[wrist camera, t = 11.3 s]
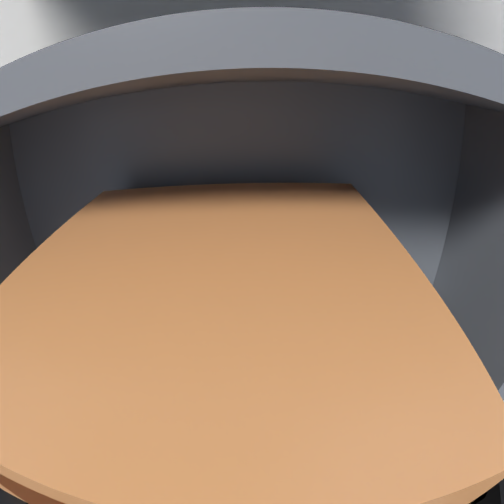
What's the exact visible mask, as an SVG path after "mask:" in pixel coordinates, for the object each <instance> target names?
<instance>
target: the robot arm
mask: <svg viewBox="0 0 504 504" xmlns="http://www.w3.org/2000/svg"><path fill="white" fill-rule="evenodd" d="M0 504H28V503H26V502H25V501H23V500H21V499H19V498H17V497H15V496H13V495H11V494H9V493H7V492H6V491H4V490H2V489H1V488H0ZM469 504H504V479H503V480H501V481H500V482H499V483H497V484H496V485H495V486H493V487H492V488H491V489H489V490H488V491H487V492H485V493H484V494H482V495H481V496H479V497H478V498H477V499H475V500H474V501H472V502H471V503H469Z"/></svg>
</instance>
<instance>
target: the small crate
mask: <svg viewBox="0 0 504 504" xmlns="http://www.w3.org/2000/svg"><path fill="white" fill-rule="evenodd" d="M503 479H504V402H503V400H502V398H501V396H500V394H499V392H498V390H497V388H496V386H495V384H494V383H493V381H492V379H491V377H490V375H489V374H488V372H487V370H486V368H485V366H484V365H483V363H482V361H481V360H480V358H479V356H478V354H477V353H476V351H475V349H474V348H473V346H472V345H471V343H470V341H469V340H468V338H467V336H466V335H465V333H464V332H463V330H462V328H461V327H460V325H459V324H458V322H457V321H456V319H455V318H454V316H453V315H452V313H451V312H450V310H449V309H448V307H447V306H446V304H445V303H444V301H443V300H442V298H441V297H440V295H439V294H438V293H437V291H436V290H435V288H434V287H433V285H432V284H431V283H430V281H429V280H428V278H427V277H426V276H425V274H424V273H423V272H422V270H421V269H420V268H419V266H418V265H417V264H416V262H415V261H414V260H413V258H412V257H411V256H410V254H409V253H408V252H407V250H406V249H405V248H404V246H403V245H402V244H401V243H400V241H399V240H398V239H397V238H396V236H395V235H394V234H393V233H392V231H391V230H390V229H389V228H388V226H387V225H386V224H385V223H384V222H383V220H382V219H381V218H380V217H379V215H378V214H377V213H376V212H375V211H374V210H373V208H372V207H371V206H370V205H369V204H368V203H367V201H366V200H365V199H364V198H363V197H362V196H361V194H360V193H359V192H358V191H357V190H356V189H355V188H354V187H353V185H352V184H345V183H233V184H204V185H182V186H165V187H149V188H136V189H123V190H112V191H103V192H102V193H101V194H100V195H98V196H97V197H96V198H95V199H93V200H92V201H91V202H90V203H88V204H87V205H86V206H85V207H83V208H82V209H81V210H80V211H79V212H77V213H76V214H75V215H74V216H73V217H71V218H70V219H69V220H68V221H67V222H66V223H64V224H63V225H62V226H61V227H60V228H59V229H58V230H56V231H55V232H54V233H53V234H52V235H51V236H50V237H49V238H47V239H46V240H45V241H44V242H43V243H42V244H41V245H40V246H39V247H38V248H37V249H36V250H35V251H33V252H32V253H31V254H30V255H29V256H28V257H27V258H26V259H25V260H24V261H23V262H22V263H21V264H20V265H19V266H18V267H17V268H16V269H15V270H14V271H13V272H12V273H11V274H10V275H9V276H8V277H7V278H6V279H5V280H4V281H3V282H2V283H1V284H0V488H1V489H2V490H4V491H6V492H7V493H9V494H11V495H13V496H15V497H17V498H19V499H21V500H23V501H25V502H26V503H28V504H469V503H471V502H472V501H474V500H475V499H477V498H478V497H479V496H481V495H482V494H484V493H485V492H487V491H488V490H489V489H491V488H492V487H493V486H495V485H496V484H497V483H499V482H500V481H501V480H503Z"/></svg>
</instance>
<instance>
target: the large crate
mask: <svg viewBox="0 0 504 504" xmlns="http://www.w3.org/2000/svg"><path fill="white" fill-rule="evenodd" d="M233 183H345V184H352V185H353V187H354V188H355V189H356V190H357V191H358V192H359V193H360V194H361V196H362V197H363V198H364V199H365V200H366V201H367V203H368V204H369V205H370V206H371V207H372V208H373V210H374V211H375V212H376V213H377V214H378V215H379V217H380V218H381V219H382V220H383V222H384V223H385V224H386V225H387V226H388V228H389V229H390V230H391V231H392V233H393V234H394V235H395V236H396V238H397V239H398V240H399V241H400V243H401V244H402V245H403V246H404V248H405V249H406V250H407V252H408V253H409V254H410V256H411V257H412V258H413V260H414V261H415V262H416V264H417V265H418V266H419V268H420V269H421V270H422V272H423V273H424V274H425V276H426V277H427V278H428V280H429V281H430V283H431V284H432V285H433V287H434V288H435V290H436V291H437V293H438V294H439V295H440V297H441V298H442V300H443V301H444V303H445V304H446V306H447V307H448V309H449V310H450V312H451V313H452V315H453V316H454V318H455V319H456V321H457V322H458V324H459V325H460V327H461V328H462V330H463V332H464V333H465V335H466V336H467V338H468V340H469V341H470V343H471V345H472V346H473V348H474V349H475V351H476V353H477V354H478V356H479V358H480V360H481V361H482V363H483V365H484V366H485V368H486V370H487V372H488V374H489V375H490V377H491V379H492V381H493V383H494V384H495V386H496V388H497V390H498V392H499V394H500V396H501V398H502V400H504V55H503V54H501V53H499V52H496V51H494V50H492V49H489V48H487V47H484V46H481V45H479V44H476V43H473V42H471V41H468V40H465V39H462V38H459V37H456V36H453V35H450V34H447V33H443V32H440V31H437V30H433V29H430V28H426V27H422V26H418V25H414V24H410V23H406V22H402V21H397V20H392V19H387V18H382V17H377V16H371V15H365V14H358V13H351V12H343V11H335V10H325V9H313V8H295V7H240V8H222V9H210V10H200V11H191V12H183V13H176V14H170V15H163V16H158V17H152V18H147V19H142V20H137V21H132V22H128V23H124V24H120V25H115V26H112V27H108V28H104V29H100V30H97V31H93V32H90V33H87V34H83V35H80V36H77V37H74V38H71V39H68V40H65V41H62V42H59V43H57V44H54V45H51V46H49V47H46V48H43V49H41V50H38V51H36V52H34V53H31V54H29V55H26V56H24V57H22V58H20V59H17V60H15V61H13V62H11V63H9V64H7V65H5V66H3V67H1V68H0V284H1V283H2V282H3V281H4V280H5V279H6V278H7V277H8V276H9V275H10V274H11V273H12V272H13V271H14V270H15V269H16V268H17V267H18V266H19V265H20V264H21V263H22V262H23V261H24V260H25V259H26V258H27V257H28V256H29V255H30V254H31V253H32V252H33V251H35V250H36V249H37V248H38V247H39V246H40V245H41V244H42V243H43V242H44V241H45V240H46V239H47V238H49V237H50V236H51V235H52V234H53V233H54V232H55V231H56V230H58V229H59V228H60V227H61V226H62V225H63V224H64V223H66V222H67V221H68V220H69V219H70V218H71V217H73V216H74V215H75V214H76V213H77V212H79V211H80V210H81V209H82V208H83V207H85V206H86V205H87V204H88V203H90V202H91V201H92V200H93V199H95V198H96V197H97V196H98V195H100V194H101V193H102V192H103V191H112V190H123V189H136V188H149V187H165V186H182V185H204V184H233Z"/></svg>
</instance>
